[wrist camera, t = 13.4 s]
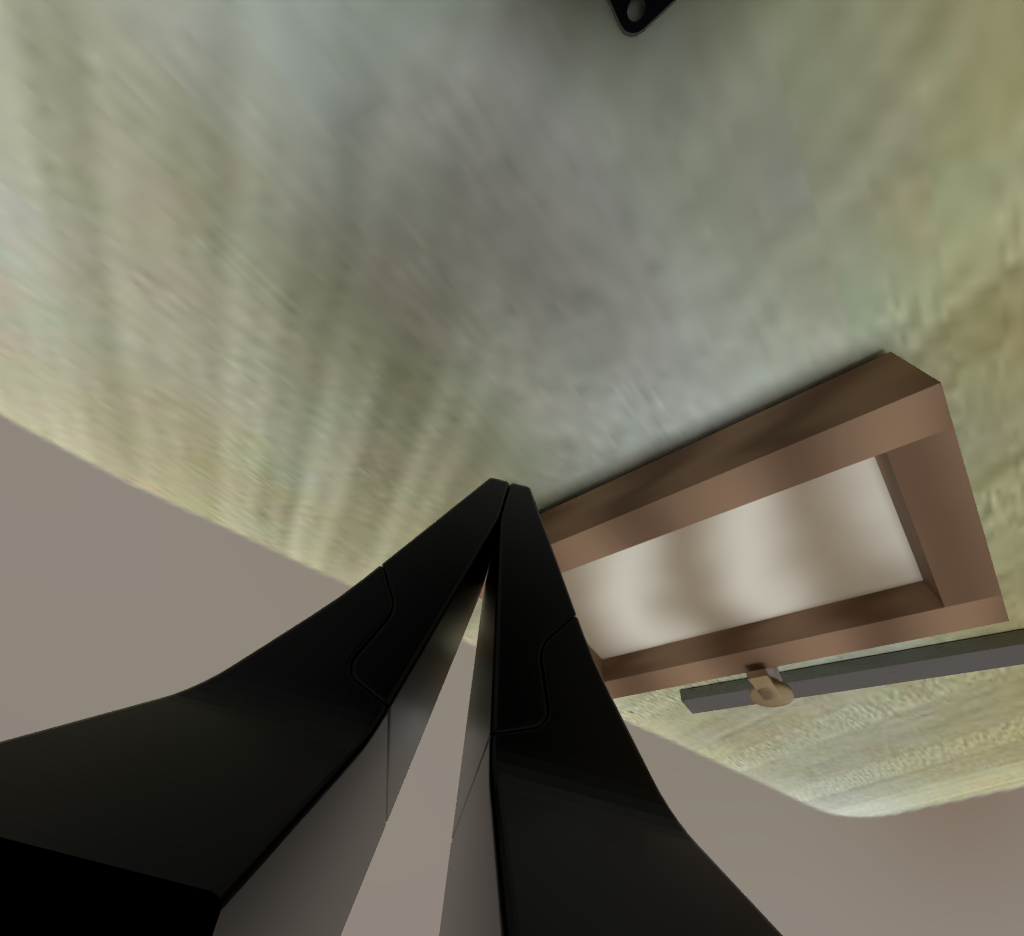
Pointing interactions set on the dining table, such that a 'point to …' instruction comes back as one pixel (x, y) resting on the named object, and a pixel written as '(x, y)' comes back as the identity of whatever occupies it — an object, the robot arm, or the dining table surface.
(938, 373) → the dining table surface
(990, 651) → the strip
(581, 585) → the picture frame
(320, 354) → the dining table surface
